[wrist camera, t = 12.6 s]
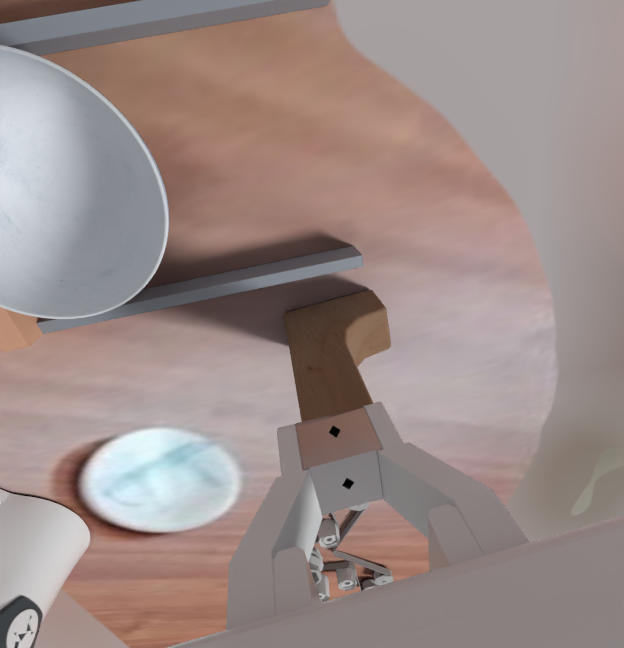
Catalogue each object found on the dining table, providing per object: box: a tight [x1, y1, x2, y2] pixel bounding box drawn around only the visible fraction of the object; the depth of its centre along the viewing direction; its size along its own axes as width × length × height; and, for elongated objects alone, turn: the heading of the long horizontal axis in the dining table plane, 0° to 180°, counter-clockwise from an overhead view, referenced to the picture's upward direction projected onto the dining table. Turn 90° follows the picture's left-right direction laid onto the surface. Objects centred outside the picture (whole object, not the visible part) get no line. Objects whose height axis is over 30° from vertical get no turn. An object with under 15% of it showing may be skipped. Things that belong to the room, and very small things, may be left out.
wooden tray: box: [0, 0, 363, 352], centre depth 26 cm, size 29×19×5 cm, turn 100°
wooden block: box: [284, 290, 391, 422], centre depth 28 cm, size 9×4×18 cm, turn 103°
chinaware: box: [0, 45, 169, 319], centre depth 24 cm, size 15×15×8 cm
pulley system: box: [308, 502, 393, 602], centre depth 53 cm, size 27×5×15 cm
